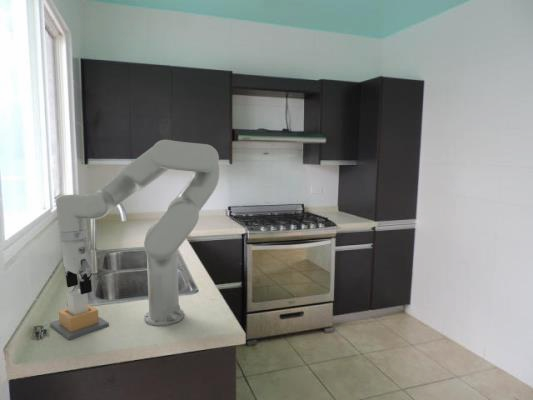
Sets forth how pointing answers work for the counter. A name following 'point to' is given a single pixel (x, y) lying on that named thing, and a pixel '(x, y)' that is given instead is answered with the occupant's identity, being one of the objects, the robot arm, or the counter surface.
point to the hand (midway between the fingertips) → (79, 289)
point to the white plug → (77, 302)
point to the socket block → (78, 323)
